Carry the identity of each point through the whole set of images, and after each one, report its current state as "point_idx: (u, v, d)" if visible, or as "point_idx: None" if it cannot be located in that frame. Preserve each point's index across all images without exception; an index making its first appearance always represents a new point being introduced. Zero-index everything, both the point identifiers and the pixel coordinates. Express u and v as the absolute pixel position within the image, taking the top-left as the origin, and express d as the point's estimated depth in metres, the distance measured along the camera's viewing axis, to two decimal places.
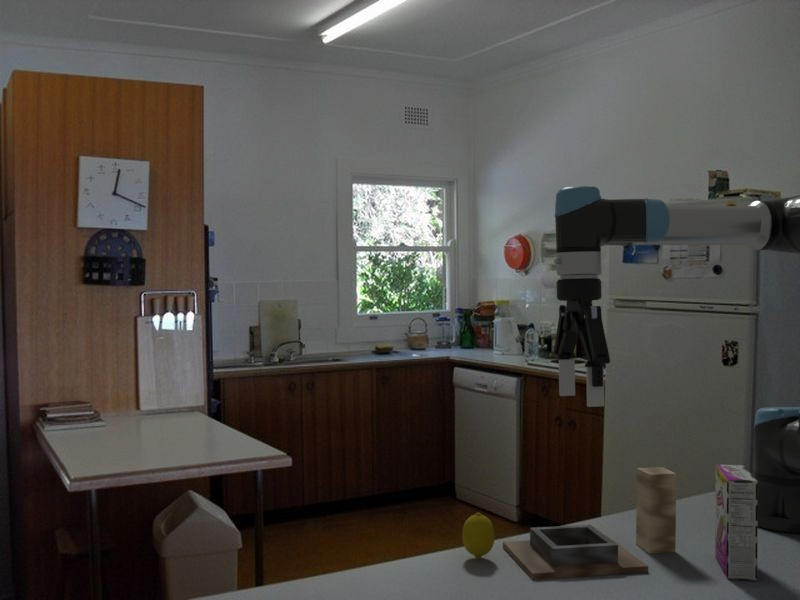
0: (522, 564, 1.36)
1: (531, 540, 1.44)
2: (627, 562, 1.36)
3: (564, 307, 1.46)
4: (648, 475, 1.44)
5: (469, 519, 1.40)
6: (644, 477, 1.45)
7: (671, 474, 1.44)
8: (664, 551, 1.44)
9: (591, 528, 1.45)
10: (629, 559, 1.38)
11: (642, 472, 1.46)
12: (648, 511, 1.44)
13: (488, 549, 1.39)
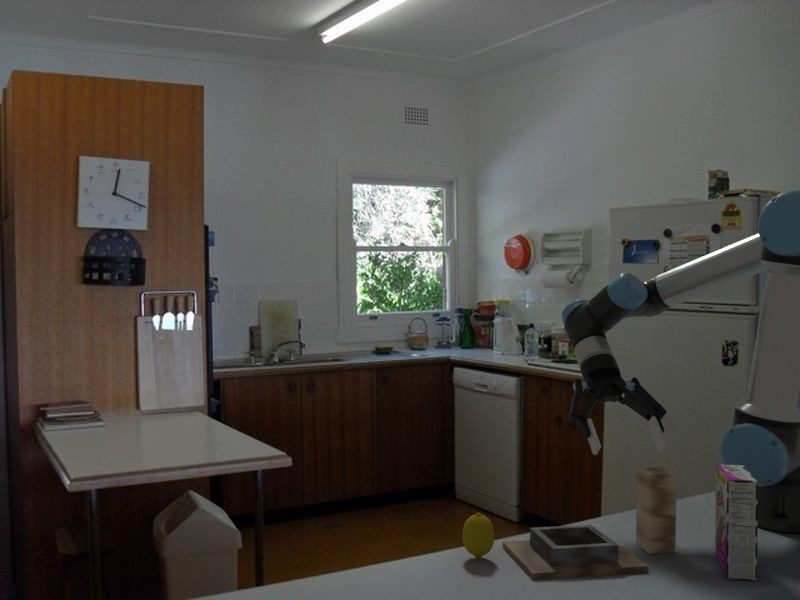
0: (522, 564, 1.36)
1: (531, 540, 1.44)
2: (627, 562, 1.36)
3: None
4: (648, 475, 1.44)
5: (469, 519, 1.40)
6: (644, 477, 1.45)
7: (671, 474, 1.44)
8: (664, 551, 1.44)
9: (591, 528, 1.45)
10: (629, 559, 1.38)
11: (642, 472, 1.46)
12: (648, 511, 1.44)
13: (488, 549, 1.39)
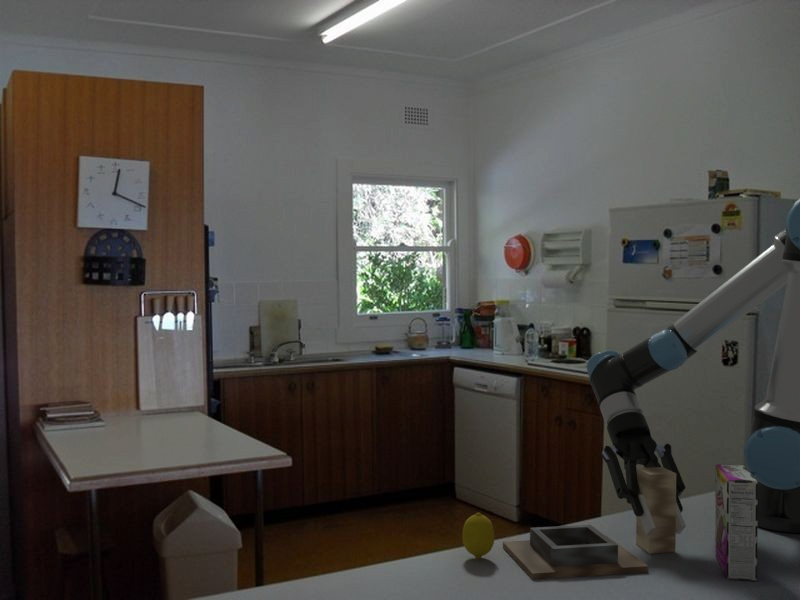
0: (522, 564, 1.36)
1: (531, 540, 1.44)
2: (627, 562, 1.36)
3: None
4: (648, 475, 1.44)
5: (469, 519, 1.40)
6: (644, 477, 1.45)
7: (671, 474, 1.44)
8: (664, 551, 1.44)
9: (591, 528, 1.45)
10: (629, 559, 1.38)
11: (642, 472, 1.46)
12: None
13: (488, 549, 1.39)
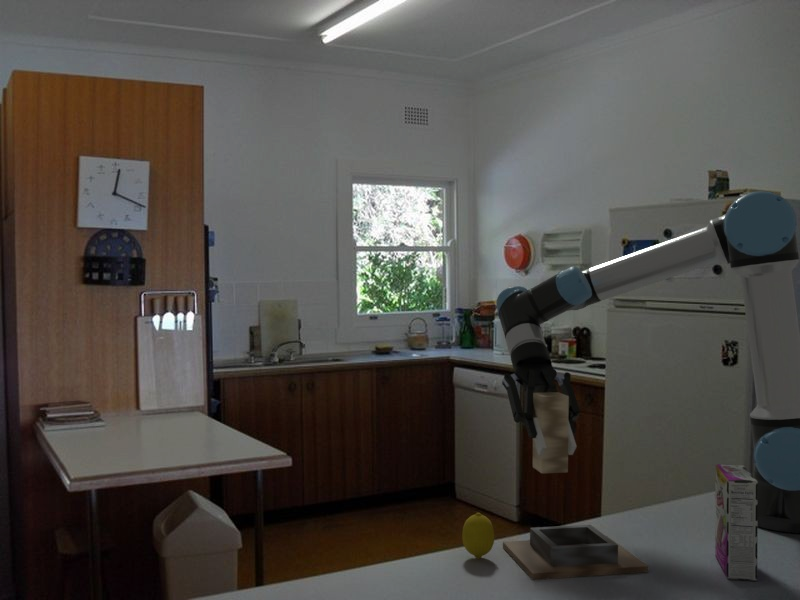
0: (522, 564, 1.36)
1: (531, 540, 1.44)
2: (627, 562, 1.36)
3: None
4: (541, 397, 1.48)
5: (469, 519, 1.40)
6: (538, 400, 1.50)
7: (563, 396, 1.48)
8: (557, 471, 1.48)
9: (591, 528, 1.45)
10: (629, 559, 1.38)
11: (537, 395, 1.50)
12: None
13: (488, 549, 1.39)
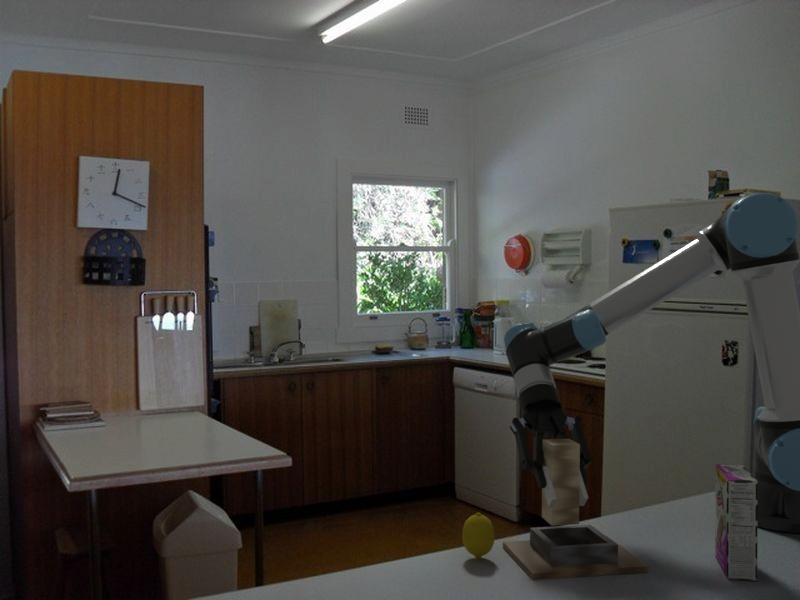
0: (522, 564, 1.36)
1: (531, 540, 1.44)
2: (627, 562, 1.36)
3: None
4: (551, 446, 1.41)
5: (469, 519, 1.40)
6: (548, 448, 1.43)
7: (574, 445, 1.42)
8: (567, 523, 1.42)
9: (591, 528, 1.45)
10: (629, 559, 1.38)
11: (546, 443, 1.44)
12: None
13: (488, 549, 1.39)
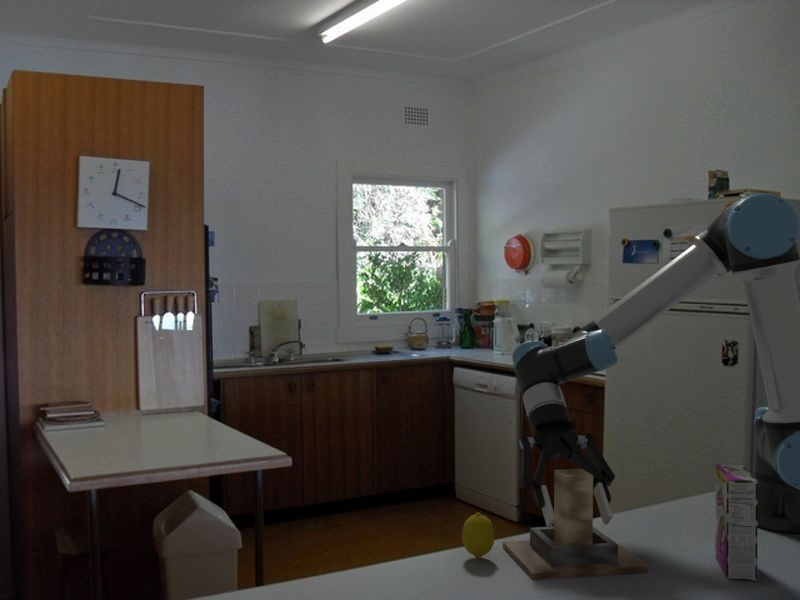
0: (522, 564, 1.36)
1: (531, 540, 1.44)
2: (627, 562, 1.36)
3: None
4: (563, 477, 1.38)
5: (469, 519, 1.40)
6: (560, 479, 1.40)
7: (588, 476, 1.38)
8: None
9: None
10: (629, 559, 1.38)
11: (559, 474, 1.40)
12: (564, 515, 1.38)
13: (488, 549, 1.39)
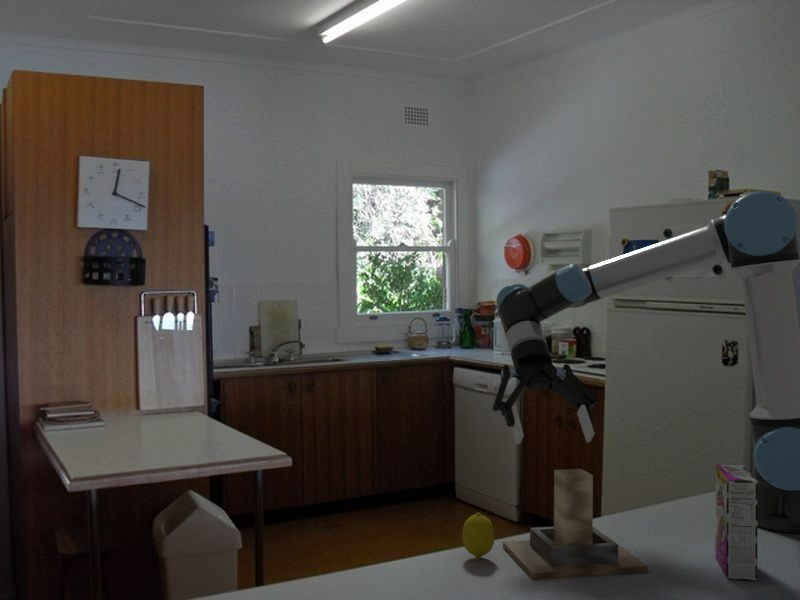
0: (522, 564, 1.36)
1: (531, 540, 1.44)
2: (627, 562, 1.36)
3: None
4: (563, 477, 1.38)
5: (469, 519, 1.40)
6: (560, 479, 1.40)
7: (587, 476, 1.38)
8: None
9: None
10: (629, 559, 1.38)
11: (558, 474, 1.40)
12: (564, 515, 1.38)
13: (488, 549, 1.39)
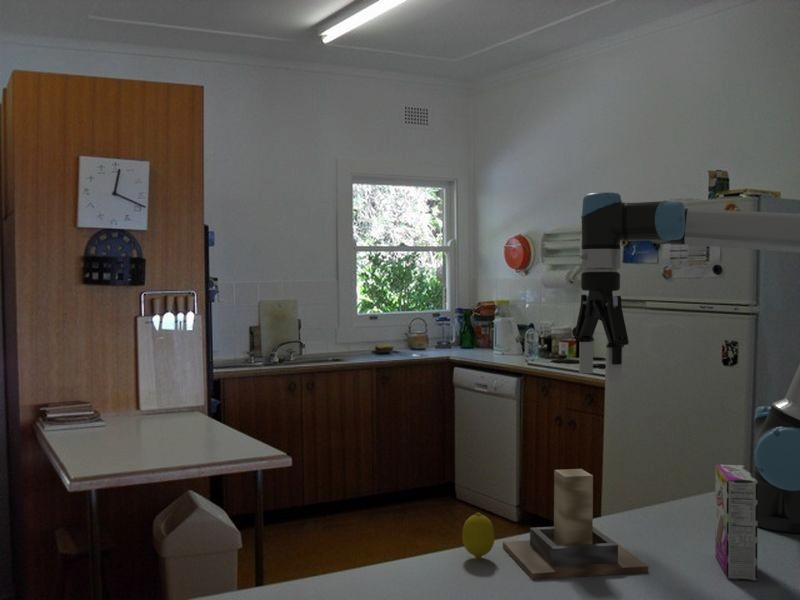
0: (522, 564, 1.36)
1: (531, 540, 1.44)
2: (627, 562, 1.36)
3: (586, 296, 1.68)
4: (563, 477, 1.38)
5: (469, 519, 1.40)
6: (560, 479, 1.40)
7: (587, 476, 1.38)
8: None
9: None
10: (629, 559, 1.38)
11: (558, 474, 1.40)
12: (564, 515, 1.38)
13: (488, 549, 1.39)
